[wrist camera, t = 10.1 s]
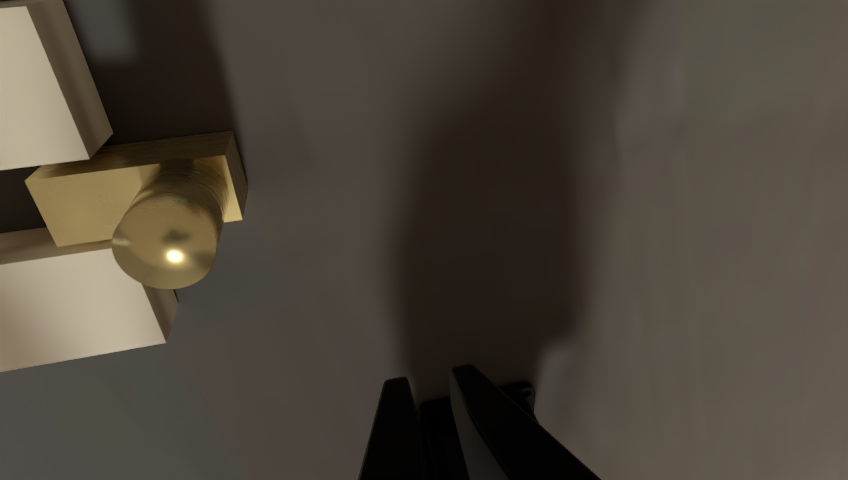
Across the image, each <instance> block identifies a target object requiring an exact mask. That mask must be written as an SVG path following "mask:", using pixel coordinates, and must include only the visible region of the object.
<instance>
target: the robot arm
mask: <svg viewBox="0 0 848 480" xmlns="http://www.w3.org/2000/svg"><path fill="white" fill-rule="evenodd" d="M449 381H450V398H445V399H440V400H435V401H431V402H426V403H423V404H422V405H420V407H419V409H418V414H419V417H418V414H417V410H416V407H415V403H414V399H413V396H412V392H411V388H410V385H409V381H408V379H407V378H406V377H398V378H393V379H388V380H386V381H385V382H384V384H383V388H382V392H381V395H380V399H379V403H378V407H377V410H376V414H375V418H374V422H373V425H372V429H371V433H370V437H369V440H368V444H367V448H366V452H365V455H364V459H363V463H362V467H361V470H360V474H359V478H358V480H601V479H600V478H599V477H598V476H597V475H596V474H594V473H593V472H592V471H591V470H590V469H589V468H588V467H587V466H585V465H584V464H583V463H582V462H581V461H580V460H579V459H578V458H576V457H575V456H574V455H573V454H572V453H571V452H570V451H569V450H568V449H566V448H565V447H564V446H563V445H562V444H561V443H560V442H559V441H557V440H556V439H555V438H554V437H553V436H552V435H551V434H550V433H549V432H547V431H546V430H545V429H544V428H543V427H542V426H541V425H540V424H539V423H538V421H537V419H536V417H535V414H534V402H535V390H534V388H533V386H532V384H531V383H529V382H523V383H518V384H514V385H509V386H504V387H499V388H498V387H497V386H496V385H495V384H494V383H493V382H491V381H490V380H489V379H488V378H487V377H486V376H485V375H484V374H482V373H481V372H480V371H479V370H478V369H477V368H476V367H475V366H473V365H472V364H465V365H459V366H454V367H452V368H451V369H450V370H449ZM428 411H429V412H428Z"/></svg>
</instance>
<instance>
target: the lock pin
mask: <svg viewBox="0 0 848 480" xmlns="http://www.w3.org/2000/svg"><path fill="white" fill-rule="evenodd" d="M25 183H26V185H27V187H28V189H29V191H30V193H31V195H32V197H33V199H34V201H35V203H36V205H37V207H38V209H39V211H40V213H41V215H42V217H43V219H44V221H45V223H46V225H47V227H48V229H49V231H50V233H51V235H52V237H53V239H54V241H55V243H56V245H57V247H60V246H67V245H74V244H81V243H87V242H94V241H101V240H108V239H112V253H113V255H114V258H115V260H116V262H117V264H118V265H119V266H120V268H121V269H122V270H123V271H124V272H125V273H126V274H127V275H128V276H130V277H131V278H133V279H134V280H136V281H138V282H140V283H142V284H144V285H147V286H150V287H154V288H159V289H178V288H183V287H187V286H190V285H192V284H194V283H196V282H198V281H199V280H201V279H202V278H203V277H204V276H205V275H206V274H207V273H208V272H209V270H210V269H211V267H212V265H213V262H214V258H215V254H216V251H217V247H218V243H219V239H220V235H221V231H222V227H223V223H224V222H230V221H237V220H243V215H244V209H245V204H246V199H247V194H248V187H247V183H246V179H245V175H244V172H243V168H242V164H241V160H240V156H239V152H238V148H237V144H236V141H235V137H234V133H233V130H232V131H224V132H216V133H208V134H200V135H192V136H184V137H176V138H168V139H160V140H151V141H143V142H135V143H127V144H119V145H111V146H103V147H100V148H99V149H98V150H97V152H96V153H95V154H94V155H93V156H92V157H91V158H90V159H86V160H78V161H70V162H62V163H54V164H46V165H42V166H40V167H39V168H38V169H37V170H36V171H35V172H34V173H33V174H32V175H31V176H29V177H28V178H27V179H26V180H25Z"/></svg>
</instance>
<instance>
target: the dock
mask: <svg viewBox="0 0 848 480" xmlns="http://www.w3.org/2000/svg"><path fill="white" fill-rule="evenodd" d="M112 134H113V131H112V128H111V125H110V123H109V120H108V118H107V115H106V112H105V110H104V107H103V104H102V102H101V99H100V97H99V94H98V91H97V89H96V86H95V84H94V81H93V78H92V76H91V73H90V70H89V68H88V65H87V63H86V60H85V57H84V55H83V52H82V49H81V47H80V44H79V42H78V39H77V36H76V34H75V31H74V28H73V26H72V23H71V21H70V18H69V15H68V13H67V10H66V7H65V5H64V2H63V0H13V1H2V2H0V170H7V169H15V168H23V167H31V166H38V165H46V164H54V163H62V162H70V161H78V160H86V159H90V158H91V157H92V156H93V155H94V154H95V153H96V152H97V150H98V149H99V148H100V147H101V146H102V145H103V144H104V143H105V142H106V141H107V140H108V138H109V137H110V136H111V135H112ZM177 308H178V301H177V299H176V296H175V293H174V291H173V289H159V288H154V287H150V286H147V285H144V284H142V283H140V282H138V281H136V280H134V279H133V278H131V277H130V276H128V275H127V274H126V273H125V272H124V271H123V270H122V269H121V268H120V266H119V265H118V264H117V262H116V260H115V258H114V255H113V253H112V239H108V240H101V241H94V242H87V243H81V244H74V245H67V246H60V247H57V245H56V243H55V241H54V239H53V237H52V235H51V233H50V231H49V229H48V227H43V228H36V229H29V230H22V231H15V232H8V233H0V372H3V371H9V370H14V369H20V368H26V367H31V366H37V365H43V364H49V363H54V362H60V361H66V360H71V359H77V358H83V357H88V356H94V355H100V354H105V353H111V352H117V351H122V350H128V349H134V348H139V347H145V346H151V345H156V344H162V343H166V342H167V339H168V336H169V333H170V329H171V326H172V323H173V320H174V317H175V314H176V311H177Z"/></svg>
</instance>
